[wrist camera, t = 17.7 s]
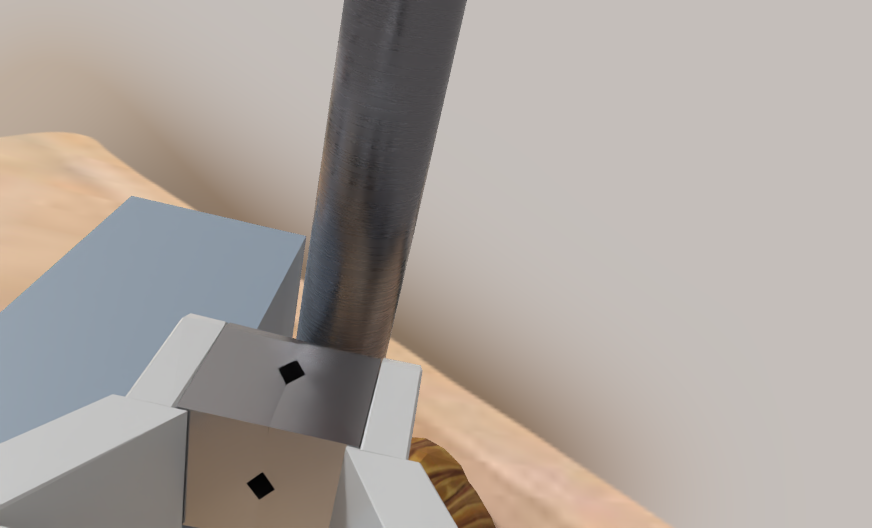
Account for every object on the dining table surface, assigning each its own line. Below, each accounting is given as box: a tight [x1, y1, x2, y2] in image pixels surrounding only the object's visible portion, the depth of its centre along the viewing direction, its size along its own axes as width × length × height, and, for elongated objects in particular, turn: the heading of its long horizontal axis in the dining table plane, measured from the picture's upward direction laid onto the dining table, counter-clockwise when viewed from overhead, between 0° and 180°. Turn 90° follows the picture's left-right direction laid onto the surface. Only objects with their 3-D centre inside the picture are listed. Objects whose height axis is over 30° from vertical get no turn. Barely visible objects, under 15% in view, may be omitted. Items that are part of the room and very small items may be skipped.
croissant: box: [408, 437, 495, 528], centre depth 46 cm, size 14×7×5 cm, turn 51°
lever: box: [296, 0, 467, 388], centre depth 12 cm, size 4×4×22 cm
